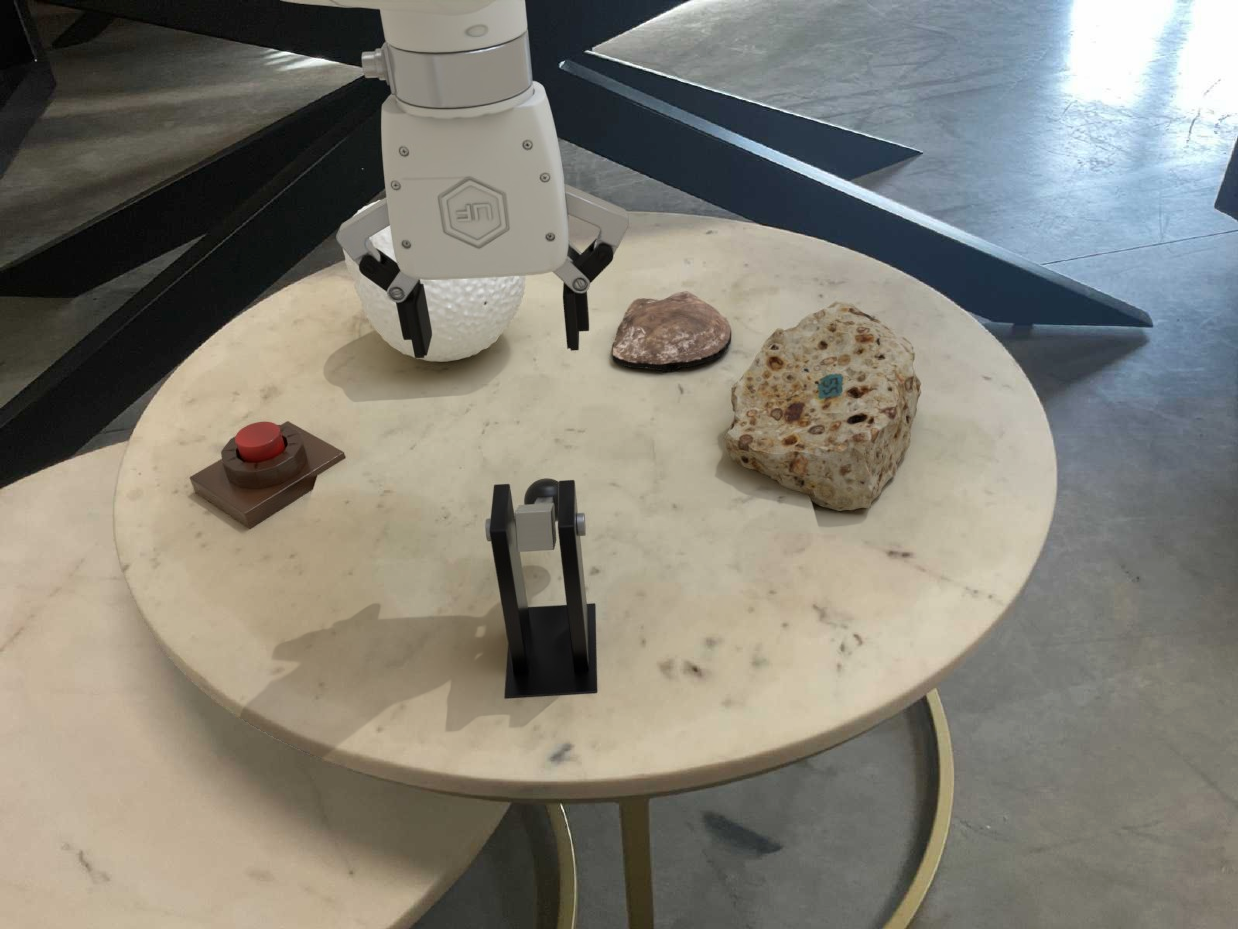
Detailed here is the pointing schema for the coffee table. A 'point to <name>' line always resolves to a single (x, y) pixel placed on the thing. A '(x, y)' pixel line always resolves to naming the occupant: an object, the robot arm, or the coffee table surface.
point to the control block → (265, 476)
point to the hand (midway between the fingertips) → (498, 343)
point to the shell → (670, 333)
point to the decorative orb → (442, 308)
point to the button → (259, 442)
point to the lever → (538, 517)
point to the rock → (827, 407)
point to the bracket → (544, 607)
